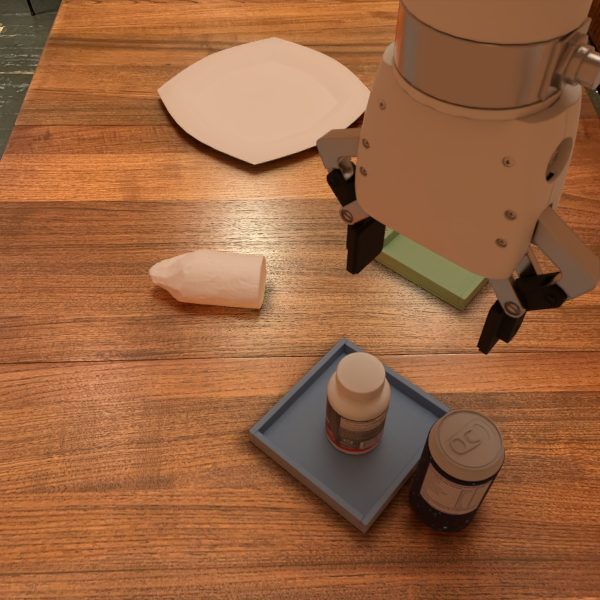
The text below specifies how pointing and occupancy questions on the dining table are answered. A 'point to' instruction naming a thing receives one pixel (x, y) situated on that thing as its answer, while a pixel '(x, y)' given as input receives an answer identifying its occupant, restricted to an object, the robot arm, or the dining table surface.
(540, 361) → the dining table surface
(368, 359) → the pill bottle
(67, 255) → the dining table surface
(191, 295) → the pale pink bottle
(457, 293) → the green tray
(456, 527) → the beverage can
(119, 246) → the dining table surface
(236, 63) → the plate
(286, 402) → the blue tray
